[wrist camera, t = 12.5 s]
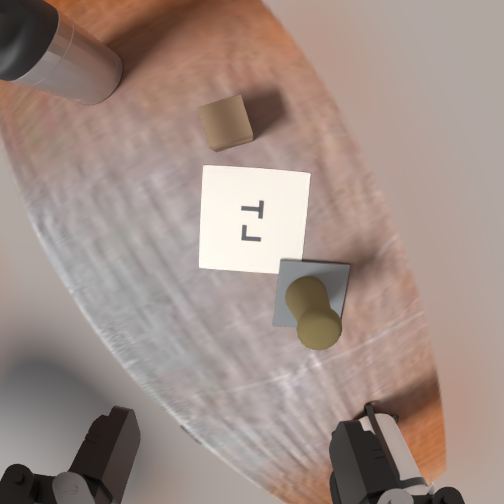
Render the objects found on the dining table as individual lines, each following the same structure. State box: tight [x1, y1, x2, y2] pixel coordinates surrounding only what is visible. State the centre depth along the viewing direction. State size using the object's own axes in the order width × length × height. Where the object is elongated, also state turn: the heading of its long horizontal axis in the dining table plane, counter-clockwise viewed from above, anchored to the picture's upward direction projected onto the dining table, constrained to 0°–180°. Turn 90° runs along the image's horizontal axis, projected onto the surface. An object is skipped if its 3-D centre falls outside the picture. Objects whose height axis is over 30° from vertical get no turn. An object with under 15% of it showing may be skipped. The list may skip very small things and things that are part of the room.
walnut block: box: [198, 95, 253, 152], centre depth 32 cm, size 5×5×6 cm
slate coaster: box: [273, 260, 350, 327], centre depth 41 cm, size 10×10×1 cm
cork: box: [285, 276, 342, 350], centre depth 35 cm, size 6×6×11 cm
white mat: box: [199, 165, 311, 274], centre depth 39 cm, size 14×14×1 cm
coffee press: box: [330, 404, 435, 504], centre depth 35 cm, size 17×16×30 cm
